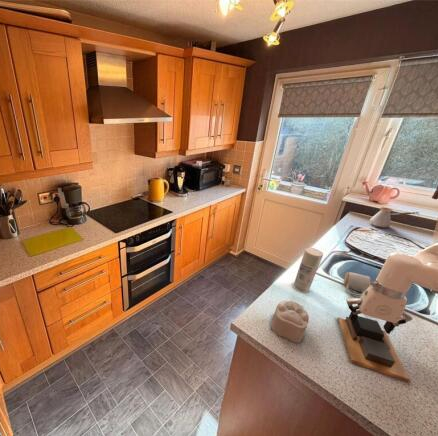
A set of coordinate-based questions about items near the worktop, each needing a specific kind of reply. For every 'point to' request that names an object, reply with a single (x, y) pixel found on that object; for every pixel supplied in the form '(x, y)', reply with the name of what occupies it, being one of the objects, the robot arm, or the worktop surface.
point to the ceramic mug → (356, 283)
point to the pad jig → (372, 352)
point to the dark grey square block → (368, 328)
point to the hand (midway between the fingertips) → (368, 325)
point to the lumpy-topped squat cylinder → (290, 320)
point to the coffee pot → (384, 217)
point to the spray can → (307, 269)
